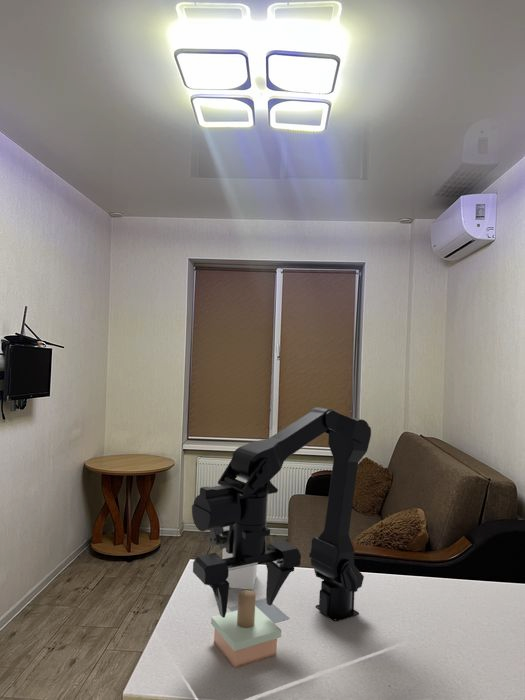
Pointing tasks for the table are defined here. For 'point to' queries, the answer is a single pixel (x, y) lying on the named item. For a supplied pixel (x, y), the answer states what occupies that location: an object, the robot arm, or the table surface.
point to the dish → (245, 651)
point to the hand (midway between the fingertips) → (246, 610)
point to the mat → (267, 610)
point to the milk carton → (240, 574)
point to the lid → (245, 624)
